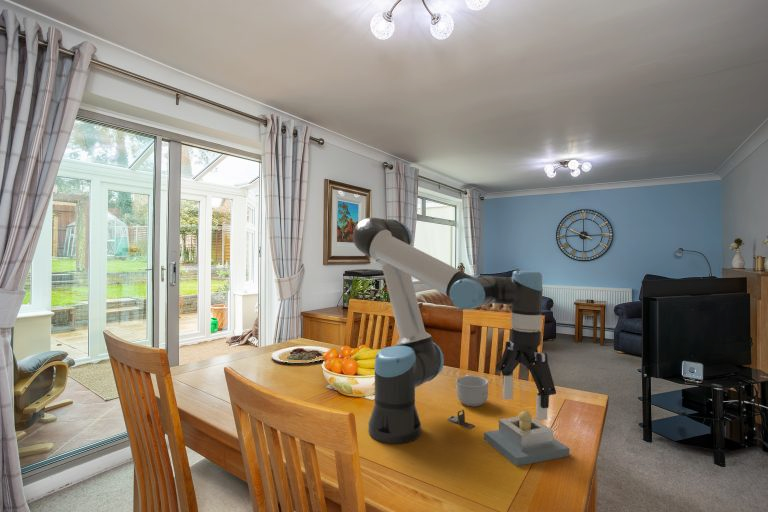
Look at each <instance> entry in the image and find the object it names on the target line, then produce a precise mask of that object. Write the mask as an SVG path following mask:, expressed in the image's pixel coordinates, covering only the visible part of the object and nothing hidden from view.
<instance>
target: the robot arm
mask: <svg viewBox="0 0 768 512" xmlns="http://www.w3.org/2000/svg"><path fill="white" fill-rule="evenodd" d="M352 232H353V233H352V242H353V243H354V246H355V247H356V249H357V250H358V251H360V252H361V253H362V254H364V255H366V256H368V257H369V258H371V259H372V260H375V263H376V265H377V264H378V265H379V266H380V267H382V272H383V276H384V281H385V284H386V289H387V293H388V296H389V301H390V305H391V309H392V312H393V316H394V317H393V318H394V322H395V326H396V328H397V333H398V336H399V338H398V340H397V342H396V343H395V344H396V345H393V346H386V347H383V348H382V349H380V350H379V351H378V352H377V353H376V355H375V359H374V366H373V369H374V406H373V408H372V411H371V415H370V417H369V421H368V434H369V436H371V437H372V438H373V439H374V440H377V441H379V442H381V443H386V444H405V443H409V442H412V441H414V440H416V439H418V438H419V437H420V436H421V433H422V423H421V419H420V416H419V413H418V410H417V407H416V388H417V387H419V386H421V385H423V384H425V383H427V382H430V381H432V380H434V379H435V377H437V376H438V375H439V374H440V373H441V371H442V370H443V367H444V363H445V362H444V361H445V359H444V354H443V353H444V352H442V349H441V348H440V346H439V345H437V343H435V342H434V341H433V336H432V335H431V334H430V333H429V332H427V331H426V329H425V325H424V321H423V318H422V317H423V316H422V314H421V309H420V307H419V306H420V305H419V302H418V298H417V295H416V291H415V290H416V289H415V287H414V283H413V279H415V280H417V281H418V282H419V281H420V282H421V283H423V284H425V285H426V286H429V288H432V289H434V290H436V291H438V293H441V294H443V295H444V296H446V297H448V298H450V301H451V302H452V304H453V306H455V307H456V308H458V309H460V310H475V309H477V308H480V307H483V306H487V305H489V304H490V305H491V304H495V305H496V304H497V305H498V304H499V305H507V306H509V305H510V306H511V311H510V314H511V315H510V327H512V328H511V329H510V341H505V346H504V347H505V348H504V350H503V353H502V356H501V358H500V361H499V364H498V366H497V371H498V372H499V371H500V372H501V375H502V399H503V400H504V401H505V400H512V399H514V398H513V396H514V371H515V370H516V368H517V367H518V366H519V364H522V365H523V366H524V367H526V369H527V370H529V372H530V375H531V377H532V379H533V381H534V384H535V386H536V388H537V389H536V390H537V391H538V393H536V403H535V405H536V408H535V420H537V421H538V422H540V421H544V420H545V421H546V420H547V419H548V408H549V406H550V405H549V404H550V402H549V401H550V396H553V395H554V396H555V395H556V394H557V391H556V387H555V382H554V379H553V376H552V372H551V370H550V366H549V363H548V361H549V360H548V354H547V352H539V346H540V345H541V344H542V331H540V330H541V329H542V312H543V311H542V310H543V308H542V307H543V306H542V305H543V291H544V288H543V275H542V273H541V272H539V271H535V270H514V271H512V275H511V276H509V277H508V276H507V277H505V276H496V275H495V276H492V275H484V274H482V275H472V276H471V275H470V274H468V273H466V272H463V271H462V270H459V269H458V268H456V267H453V266H452V265H450V264H448V263H446V262H443V260H440V259H438V258H436V257H434V256H432V255H430V254H428V253H426V252H424V251H422V250H421V249H418V248H416V247H414V246H412V242H413V238H412V237H413V236H412V233H411V231H410V228H409V227H408V225H406V224H405V223H404V222H402V221H398V220H396V219H393V218H392V219H389V218H388V219H387V218H380V217H379V218H378V217H366V218H363V219H361V220H360V221H359V222H358V223H357V224H356V225H355V227H354V229H353V231H352Z"/></svg>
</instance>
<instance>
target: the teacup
mask: <svg viewBox="0 0 768 512" xmlns="http://www.w3.org/2000/svg"><path fill="white" fill-rule="evenodd" d="M455 383H456V384H455V386H456V396H457V399H458V400H459V402H461V403H462V404H464V405H465V406H467V407H474V408H475V407H480V406H482V405H484V403H486V402H487V400H488V398H489V380H488V379H487V378H485V377H483V376H478V375H470V374H465V375H464V376H460V377H458V378H456V379H455Z"/></svg>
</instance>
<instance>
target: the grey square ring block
mask: <svg viewBox="0 0 768 512" xmlns="http://www.w3.org/2000/svg"><path fill="white" fill-rule="evenodd" d="M498 430H499V435H500V436H502V437H503V438H504V439H506V440H507V441H508V442H510V443H511V444H512V445H514V446H515V447H516V448H517V449H519V450H520V451H521V452H522V451H527V450H533V449H538V448H544V447H549V446H553V438H554V430H553V429H552V428H550V427H548V426H547V425H545V424H543V423H542V422H540V421H538V420H536V418H534V417H532V419H531V430H526V431H522V430H521V429H520V419H519V416H514V417H508V418H501V419H500V418H499V419H498Z"/></svg>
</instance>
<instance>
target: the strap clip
mask: <svg viewBox="0 0 768 512" xmlns="http://www.w3.org/2000/svg"><path fill="white" fill-rule="evenodd" d="M464 410H465V409H460V410H458V411H457V416H455V415H452V416H449V417H447V421H449V422H451V423H453V424H459V425H460V427H463V428H466V429H469V430H472V429H474V428H475V427H476V425H474V424H472V423H470V422H467V421H466V415H465V411H464ZM461 412H462V413H461ZM460 413H461V414H460Z"/></svg>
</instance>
